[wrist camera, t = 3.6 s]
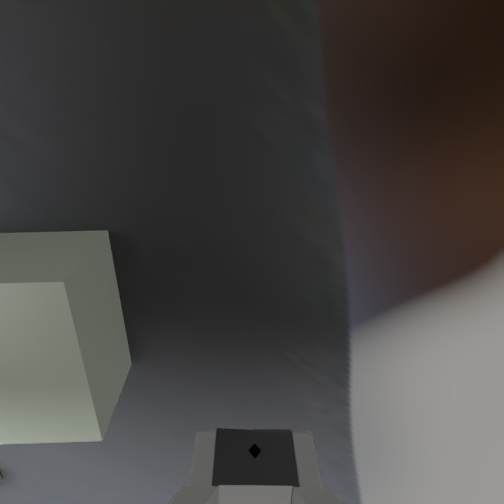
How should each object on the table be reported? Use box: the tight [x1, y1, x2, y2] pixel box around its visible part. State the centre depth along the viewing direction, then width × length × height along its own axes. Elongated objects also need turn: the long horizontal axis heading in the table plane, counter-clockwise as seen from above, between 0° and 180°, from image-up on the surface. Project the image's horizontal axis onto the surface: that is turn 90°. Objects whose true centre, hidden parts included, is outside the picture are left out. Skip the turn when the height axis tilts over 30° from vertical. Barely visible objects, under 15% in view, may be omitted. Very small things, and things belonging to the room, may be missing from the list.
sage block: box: [0, 230, 132, 444], centre depth 14 cm, size 6×6×4 cm
